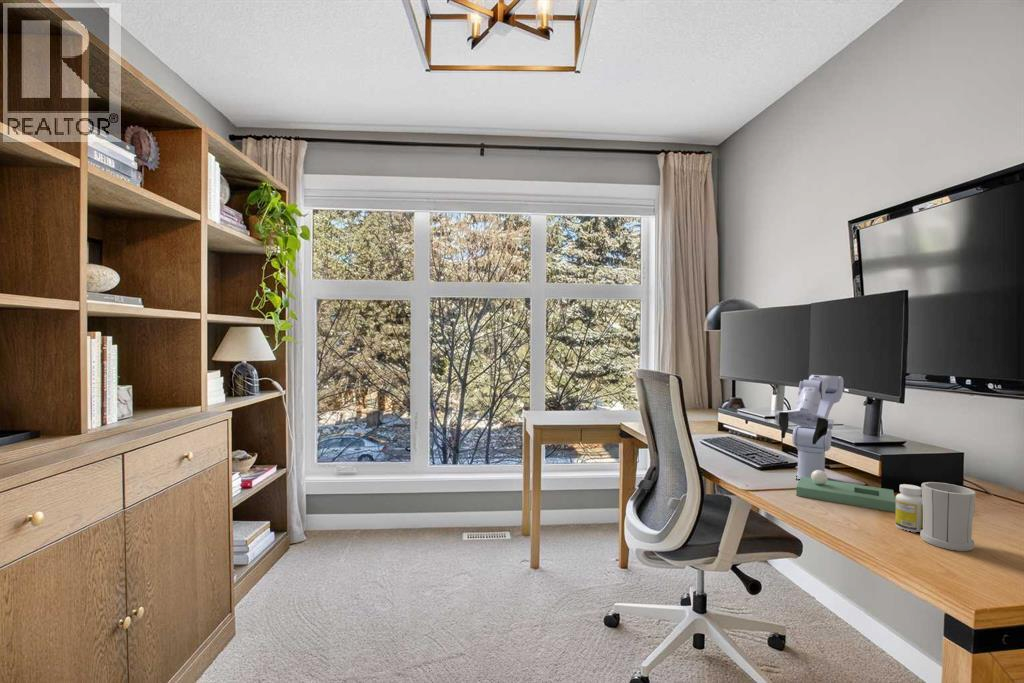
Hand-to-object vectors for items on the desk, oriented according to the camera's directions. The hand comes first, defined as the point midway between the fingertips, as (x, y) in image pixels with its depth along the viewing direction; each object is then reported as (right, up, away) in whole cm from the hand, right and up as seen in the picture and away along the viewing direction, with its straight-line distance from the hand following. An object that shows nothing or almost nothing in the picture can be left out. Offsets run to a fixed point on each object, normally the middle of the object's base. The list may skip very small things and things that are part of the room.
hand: (798, 438), depth 142 cm
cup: (+14, -16, -32) cm, 39 cm away
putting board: (+11, -16, -2) cm, 20 cm away
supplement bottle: (+12, -16, -25) cm, 32 cm away
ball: (+7, -11, +1) cm, 13 cm away
